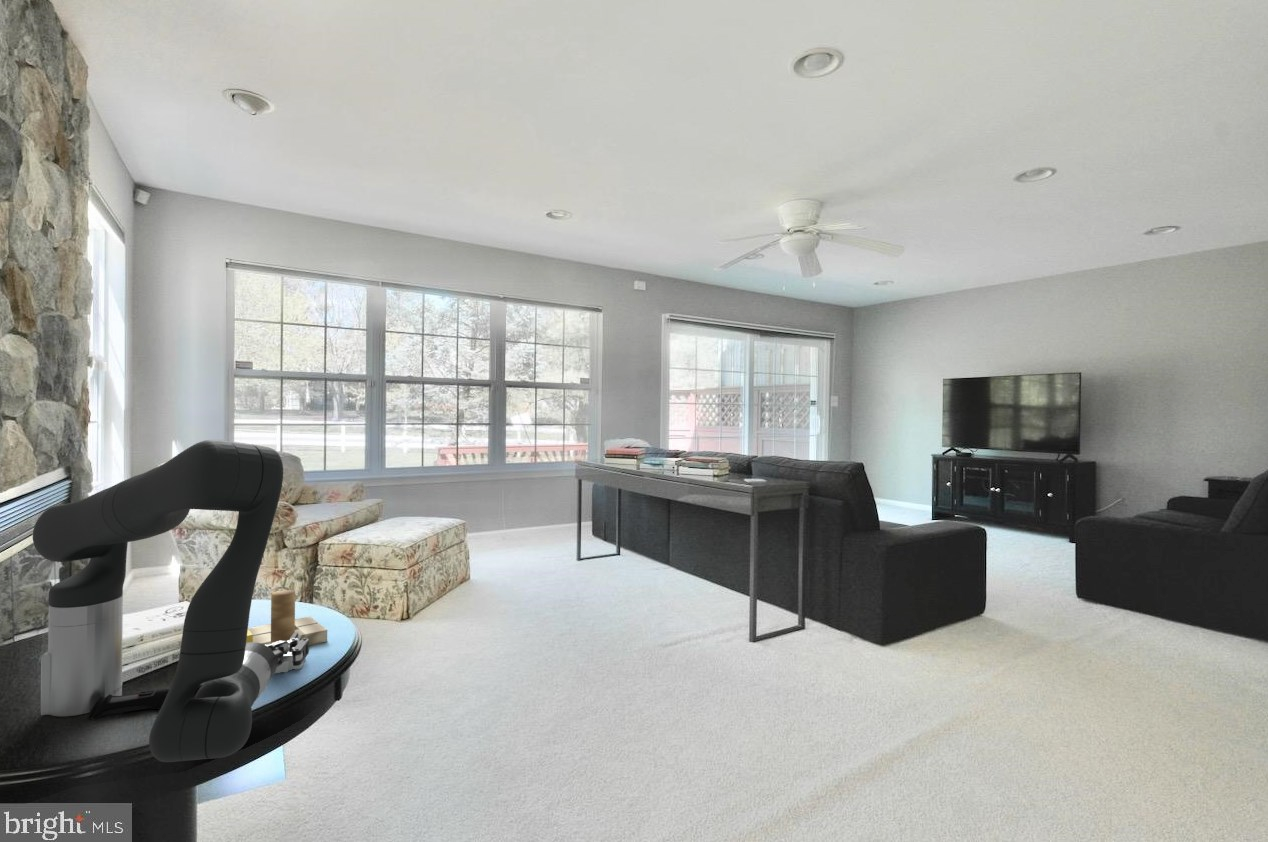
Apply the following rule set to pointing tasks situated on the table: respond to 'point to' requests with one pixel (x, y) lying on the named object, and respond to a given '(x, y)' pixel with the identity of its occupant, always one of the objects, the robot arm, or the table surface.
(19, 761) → the table surface
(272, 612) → the awl
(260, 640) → the board
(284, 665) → the block
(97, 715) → the electric trimmer
